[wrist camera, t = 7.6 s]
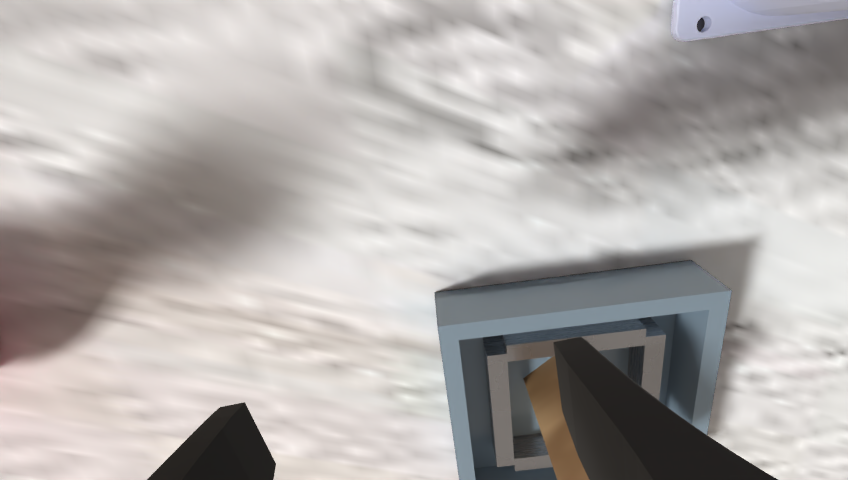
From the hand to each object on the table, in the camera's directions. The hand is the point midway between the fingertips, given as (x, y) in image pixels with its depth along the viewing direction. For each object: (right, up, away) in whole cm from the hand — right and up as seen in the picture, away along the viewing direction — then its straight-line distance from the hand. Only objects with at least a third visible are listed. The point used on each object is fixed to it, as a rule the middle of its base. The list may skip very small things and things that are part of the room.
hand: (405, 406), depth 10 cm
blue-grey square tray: (+8, -3, +13) cm, 15 cm away
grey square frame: (+8, -3, +13) cm, 15 cm away
